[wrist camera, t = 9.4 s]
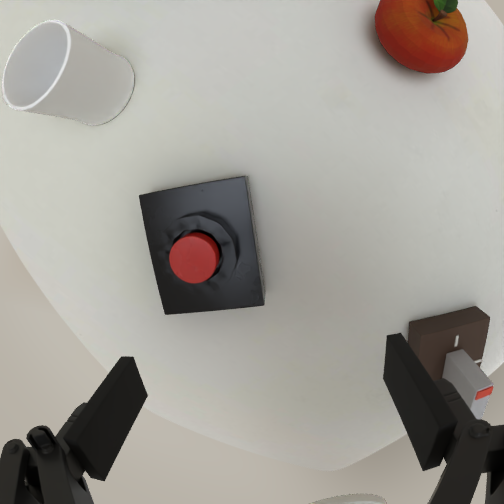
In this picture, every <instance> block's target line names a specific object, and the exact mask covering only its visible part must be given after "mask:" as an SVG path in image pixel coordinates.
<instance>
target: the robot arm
mask: <svg viewBox="0 0 504 504" xmlns="http://www.w3.org/2000/svg"><path fill="white" fill-rule="evenodd" d="M383 379H384V382H385V384H386V386H387V388H388V390H389V392H390V395H391V397H392V399H393V401H394V404H395V406H396V408H397V410H398V413H399V415H400V417H401V419H402V422H403V424H404V426H405V429H406V431H407V433H408V436H409V438H410V440H411V443H412V445H413V448H414V450H415V452H416V455H417V458H418V460H419V462H420V465H421V468H422V470H423V471H425V470H428V469H431V468H434V467H437V466H440V464H441V462H442V460H443V457H444V459H445V461H446V463H447V465H446V467H445V469H444V471H443V473H442V475H441V478H440V480H439V482H438V484H437V486H436V488H435V491H434V493H433V494H432V496H431V499H430V500H429V502H428V504H470V503H471V500H472V498H473V495H474V492H475V490H476V487H477V484H478V481H479V478H480V475H481V473H487V485H486V499H485V504H504V425H498V426H491V425H490V424H489V423H488V422H487V421H484V420H481V419H476V417H475V416H474V414H473V413H472V411H471V410H470V408H469V407H468V405H467V404H466V402H465V401H464V400H463V398H461V395H460V394H459V392H457V389H456V388H455V387H454V385H453V384H452V383H451V382H449V381H448V380H446V379H445V378H442V379H439V380H435V381H433V380H432V378H431V377H430V375H429V374H428V372H427V371H426V369H425V368H424V366H423V365H422V363H421V362H420V360H419V359H418V357H417V356H416V354H415V353H414V351H413V350H412V348H411V347H410V346H409V344H408V343H407V341H406V340H405V338H404V337H403V336H402V334H401V333H398V334H392V335H387V341H386V354H385V365H384V375H383ZM147 396H148V395H147V392H146V390H145V387H144V385H143V382H142V379H141V377H140V374H139V371H138V368H137V366H136V363H135V360H134V357H121V358H120V359H119V360H118V362H117V363H116V364H115V366H114V367H113V368H112V370H111V371H110V372H109V374H108V375H107V377H106V378H105V379H104V381H103V382H102V383H101V385H100V386H99V387H98V389H97V390H96V392H95V393H94V394H93V396H92V397H91V399H90V400H89V401H88V403H83V404H81V405H80V406H78V407H77V408H76V409H75V411H74V412H73V413H72V414H71V416H70V417H69V418H68V420H67V422H66V423H65V424H64V425H63V427H62V428H61V430H60V431H59V432H58V434H57V435H56V436H54V435H53V433H52V431H51V430H50V428H48V427H47V426H43V425H42V426H37V427H34V428H33V429H31V430H30V431H29V433H28V434H27V440H28V442H29V443H30V444H31V446H32V447H26V446H25V445H24V443H23V442H22V441H21V440H19V439H13V440H10V441H8V442H7V443H6V444H5V446H4V447H3V450H2V454H1V458H0V504H94V502H93V500H92V497H91V495H90V492H89V489H88V486H87V483H86V480H85V478H84V477H83V476H82V475H83V473H84V471H86V472H87V473H88V475H89V476H90V477H91V478H94V479H97V480H101V481H105V479H106V477H107V475H108V473H109V471H110V469H111V467H112V465H113V463H114V461H115V459H116V457H117V455H118V453H119V451H120V449H121V447H122V445H123V443H124V441H125V439H126V437H127V435H128V433H129V431H130V429H131V427H132V425H133V423H134V421H135V420H136V418H137V416H138V414H139V412H140V410H141V408H142V406H143V404H144V402H145V400H146V398H147Z"/></svg>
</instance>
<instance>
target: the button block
mask: <svg viewBox="0 0 504 504" xmlns="http://www.w3.org/2000/svg"><path fill="white" fill-rule="evenodd" d="M139 199H140V205H141V210H142V215H143V221H144V226H145V231H146V236H147V241H148V245H149V250H150V255H151V259H152V264H153V268H154V272H155V277H156V281H157V285H158V289H159V293H160V297H161V301H162V305H163V309H164V313H165V315H169V314H182V313H194V312H205V311H216V310H226V309H236V308H246V307H255V306H263V305H264V302H265V289H264V282H263V275H262V268H261V261H260V255H259V248H258V241H257V234H256V228H255V221H254V214H253V207H252V201H251V194H250V187H249V181H248V176H242V177H236V178H229V179H223V180H217V181H211V182H205V183H200V184H194V185H189V186H183V187H178V188H173V189H168V190H162V191H157V192H153V193H148V194H143V195H139ZM194 232H198V233H203V234H205V235H207V236H209V237H210V238H211V239H213V241H214V242H215V243H216V245H217V247H218V249H219V254H220V258H219V263H218V266H217V267H216V269H215V271H214V273H213V274H212V275H211V277H210V278H208V279H207V280H206V281H203V282H201V283H188V282H185V281H183V280H181V279H180V278H179V277H177V275H176V274H175V273H174V272H173V270H172V268H171V265H170V261H169V255H170V251H171V248H172V246H173V245H174V244H175V243H176V242H177V241H178V240H179V239H181V238H182V237H183V236H185V235H187V234H189V233H194Z"/></svg>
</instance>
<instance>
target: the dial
mask: <svg viewBox="0 0 504 504" xmlns="http://www.w3.org/2000/svg"><path fill="white" fill-rule="evenodd" d="M442 378H445V379H446V380H448V381H449V382H451V383H452V384H453V385H454V387H455V388H456V389H457V392H459V394H460V395H461V398H463V400H464V401H465V402H466V404H467V405H468V407H469V408H470V410H471V411H472V413H473V414H474V416H475V417H476V419H481V418H482V416H483V413H484V410H485V408H486V405H487V402H488V399H489V396H490V394H491V393H492V390H493V383H492V382H491V380H490V379H489V378H488V377H487V376H486V374H485V373H484V372H483V371H482V370H481V369H480V368H479V366H478V365H477V364H476V363H475V362H474V361H473V360H472V359H471V357H470V356H469V355H468V354H467V353H466V352H465V351H464V350H463V349H461V350H457V351H454V352H450V353H447V354H446V360H445V365H444V371H443V376H442Z"/></svg>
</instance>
